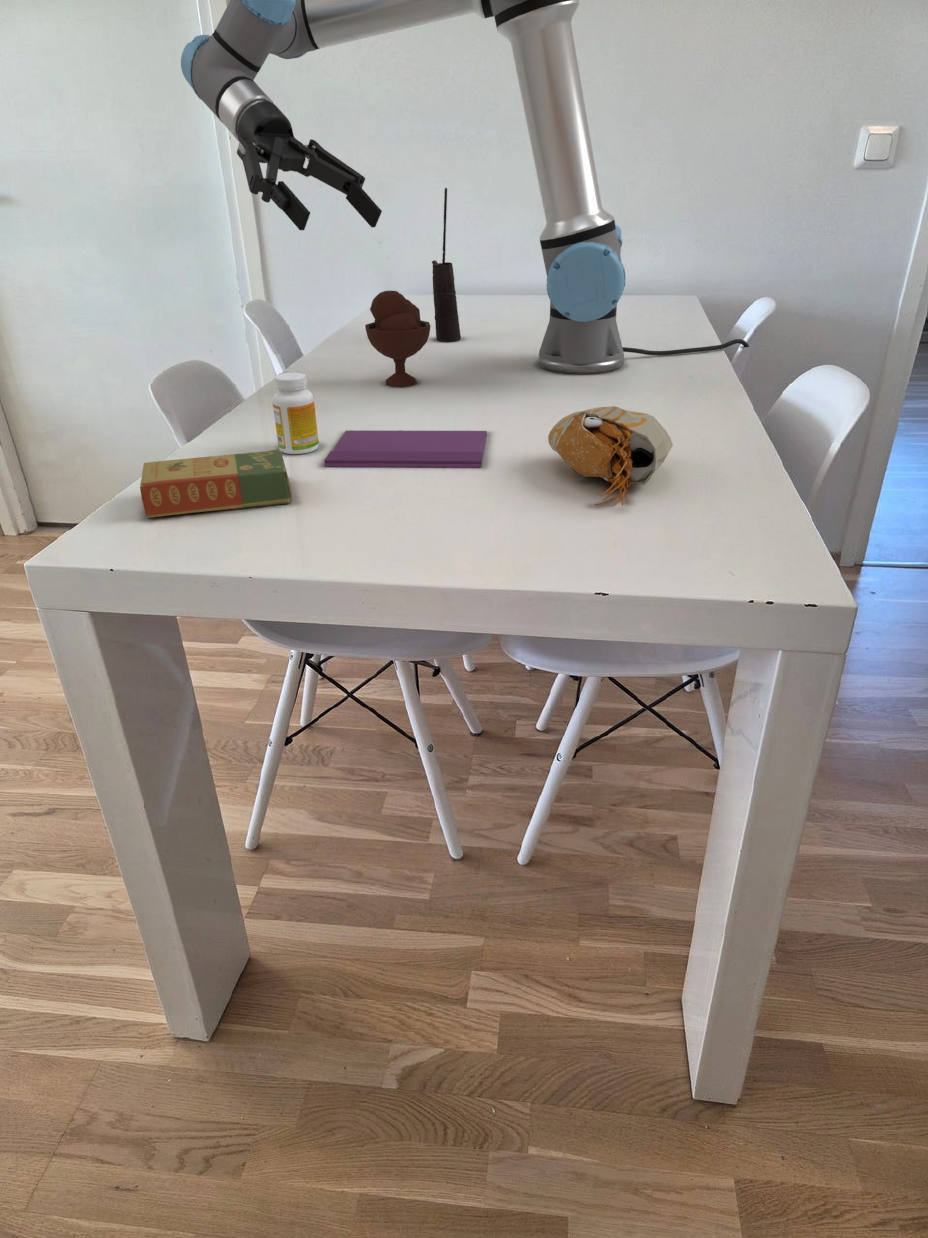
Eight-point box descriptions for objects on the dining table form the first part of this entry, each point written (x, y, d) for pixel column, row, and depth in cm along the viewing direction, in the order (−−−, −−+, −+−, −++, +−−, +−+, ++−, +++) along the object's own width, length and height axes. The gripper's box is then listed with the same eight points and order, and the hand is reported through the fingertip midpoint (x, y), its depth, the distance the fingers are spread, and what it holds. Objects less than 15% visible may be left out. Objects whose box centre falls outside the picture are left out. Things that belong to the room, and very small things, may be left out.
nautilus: (667, 525, 90) (528, 521, 94) (673, 450, 107) (556, 449, 111) (670, 455, 86) (525, 454, 89) (676, 388, 103) (555, 390, 107)
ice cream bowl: (425, 392, 138) (421, 295, 130) (360, 389, 140) (352, 294, 132) (439, 376, 147) (436, 284, 139) (378, 374, 149) (372, 284, 141)
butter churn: (414, 337, 176) (407, 187, 162) (455, 332, 179) (452, 185, 165) (431, 345, 169) (425, 188, 155) (474, 340, 172) (472, 186, 158)
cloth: (486, 433, 118) (486, 427, 117) (481, 467, 106) (481, 461, 105) (346, 433, 119) (345, 427, 119) (324, 466, 107) (324, 460, 107)
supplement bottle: (326, 444, 115) (318, 372, 110) (307, 456, 111) (298, 382, 106) (291, 440, 117) (282, 369, 112) (271, 453, 112) (261, 379, 107)
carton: (149, 494, 100) (142, 460, 98) (286, 479, 103) (282, 446, 101) (146, 520, 93) (138, 483, 91) (293, 503, 96) (288, 467, 94)
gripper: (314, 150, 134) (393, 239, 130) (177, 144, 117) (263, 247, 113) (329, 104, 129) (413, 195, 125) (188, 91, 112) (280, 196, 108)
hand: (342, 220), depth 119 cm, fingers open, 13 cm apart
